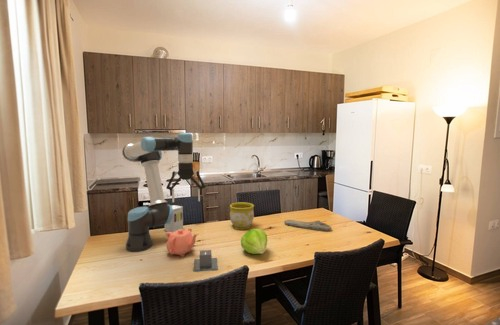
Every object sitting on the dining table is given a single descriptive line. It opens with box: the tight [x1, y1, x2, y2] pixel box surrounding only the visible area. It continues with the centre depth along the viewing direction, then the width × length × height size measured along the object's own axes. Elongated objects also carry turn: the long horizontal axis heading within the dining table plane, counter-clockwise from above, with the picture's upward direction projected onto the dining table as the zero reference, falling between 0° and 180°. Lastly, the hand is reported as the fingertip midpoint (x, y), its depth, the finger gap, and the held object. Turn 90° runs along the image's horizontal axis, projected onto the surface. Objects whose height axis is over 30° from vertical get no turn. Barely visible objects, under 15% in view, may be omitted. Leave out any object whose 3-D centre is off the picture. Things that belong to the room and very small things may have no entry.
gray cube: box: [199, 249, 213, 267], centre depth 139 cm, size 6×6×6 cm
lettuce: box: [240, 228, 268, 255], centre depth 154 cm, size 15×20×14 cm
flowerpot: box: [229, 201, 255, 231], centre depth 199 cm, size 18×18×16 cm
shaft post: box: [193, 257, 219, 272], centre depth 140 cm, size 12×12×5 cm
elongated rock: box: [284, 219, 332, 232], centre depth 200 cm, size 35×5×10 cm
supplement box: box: [164, 204, 184, 233], centre depth 192 cm, size 10×9×17 cm
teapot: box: [165, 228, 199, 258], centre depth 154 cm, size 16×17×14 cm
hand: (186, 201), depth 145 cm, fingers open, 13 cm apart
